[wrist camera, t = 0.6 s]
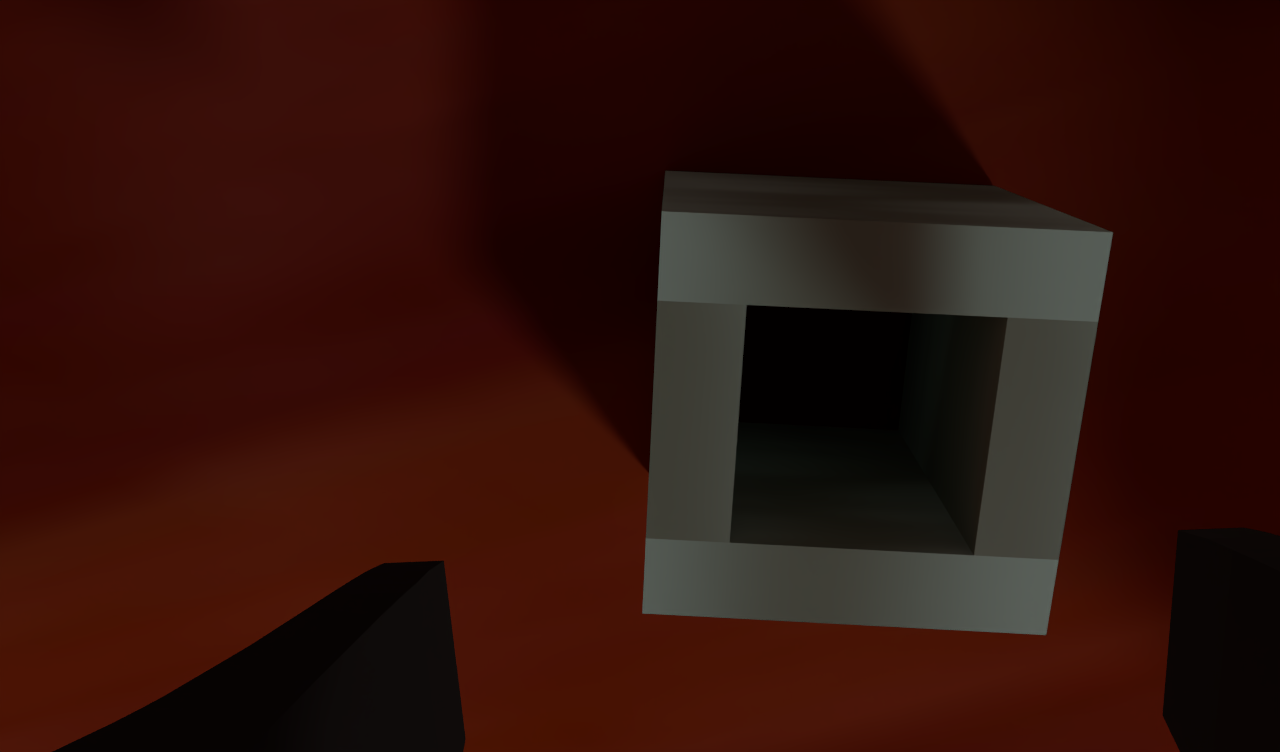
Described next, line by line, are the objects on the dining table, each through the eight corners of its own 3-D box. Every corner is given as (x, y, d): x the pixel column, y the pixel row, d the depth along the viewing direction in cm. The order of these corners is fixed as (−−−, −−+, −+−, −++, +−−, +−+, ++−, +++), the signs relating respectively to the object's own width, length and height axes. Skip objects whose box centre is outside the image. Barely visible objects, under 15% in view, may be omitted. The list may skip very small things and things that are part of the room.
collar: (994, 186, 18) (1112, 232, 13) (953, 491, 19) (1045, 634, 14) (665, 170, 18) (661, 211, 13) (650, 476, 19) (642, 613, 15)
